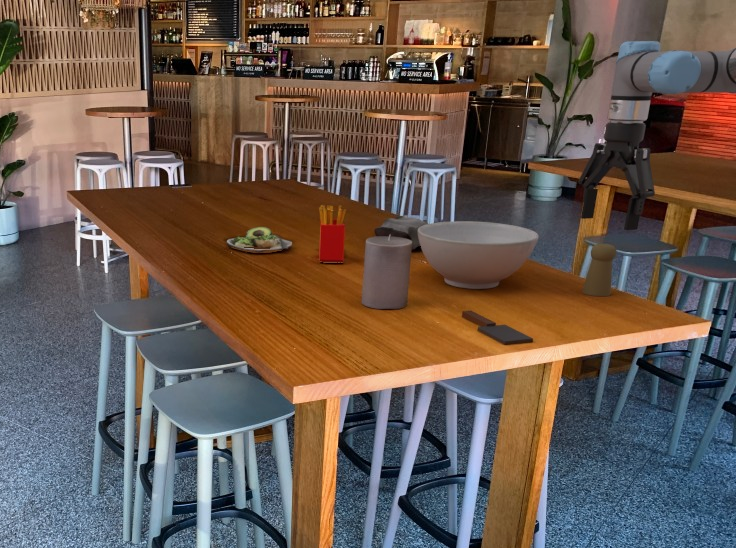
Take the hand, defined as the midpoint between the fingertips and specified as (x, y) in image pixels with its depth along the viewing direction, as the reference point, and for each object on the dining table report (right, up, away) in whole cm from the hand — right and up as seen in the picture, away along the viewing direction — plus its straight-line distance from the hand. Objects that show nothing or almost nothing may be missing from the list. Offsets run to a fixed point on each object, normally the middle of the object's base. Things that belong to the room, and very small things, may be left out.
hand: (607, 223), depth 173 cm
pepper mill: (0, -15, +6) cm, 16 cm away
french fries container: (-56, -2, +37) cm, 67 cm away
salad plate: (-74, +4, +52) cm, 91 cm away
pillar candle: (-49, -18, -2) cm, 53 cm away
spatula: (-32, -24, -19) cm, 45 cm away
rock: (-33, +4, +52) cm, 62 cm away
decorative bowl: (-25, -11, +15) cm, 31 cm away
